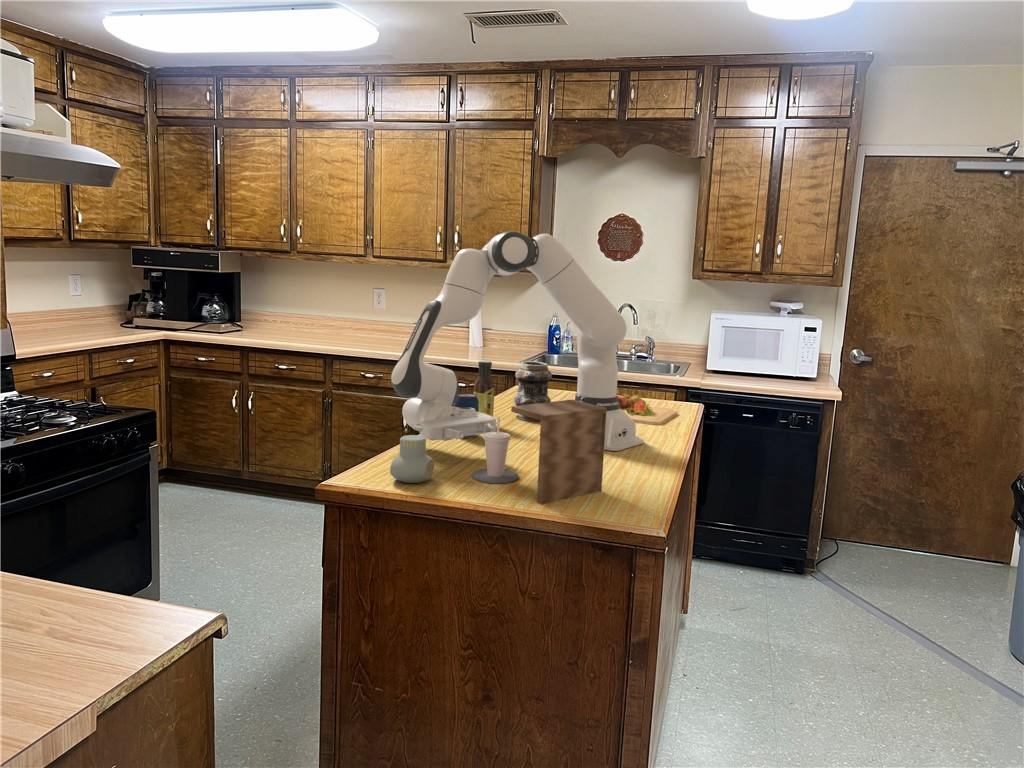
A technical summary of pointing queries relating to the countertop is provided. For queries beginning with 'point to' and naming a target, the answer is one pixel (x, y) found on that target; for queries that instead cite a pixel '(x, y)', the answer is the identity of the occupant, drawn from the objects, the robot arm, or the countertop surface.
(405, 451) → the air freshener
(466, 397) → the soda can
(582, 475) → the shelf
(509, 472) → the coaster
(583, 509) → the countertop surface
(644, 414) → the cutting board
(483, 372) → the sauce bottle
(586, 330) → the robot arm
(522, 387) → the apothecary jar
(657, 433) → the countertop surface
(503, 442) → the smoothie
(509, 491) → the countertop surface
